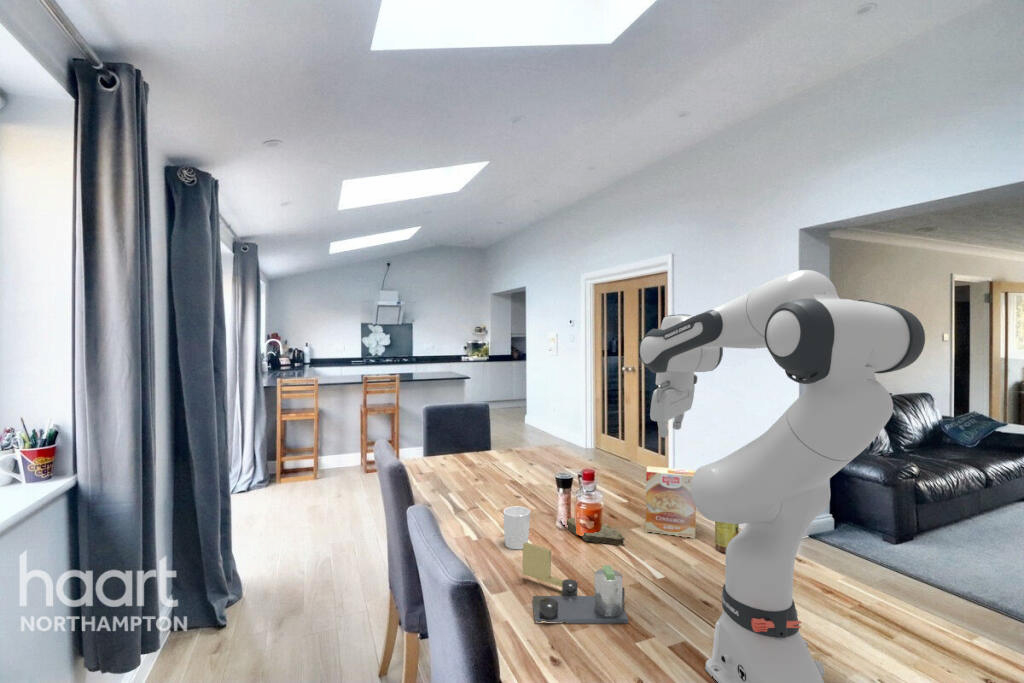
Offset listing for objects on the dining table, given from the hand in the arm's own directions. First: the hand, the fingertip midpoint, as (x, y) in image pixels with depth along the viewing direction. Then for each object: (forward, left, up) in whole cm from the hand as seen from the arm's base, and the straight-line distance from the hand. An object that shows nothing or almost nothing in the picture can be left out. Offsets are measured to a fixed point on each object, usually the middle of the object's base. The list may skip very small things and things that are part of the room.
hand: (670, 432), depth 121 cm
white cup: (+20, +38, -38) cm, 57 cm away
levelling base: (-14, +25, -37) cm, 47 cm away
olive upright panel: (-4, +31, -37) cm, 48 cm away
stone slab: (+29, +15, -38) cm, 50 cm away
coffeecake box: (+30, -11, -38) cm, 49 cm away
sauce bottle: (+17, -23, -38) cm, 47 cm away
